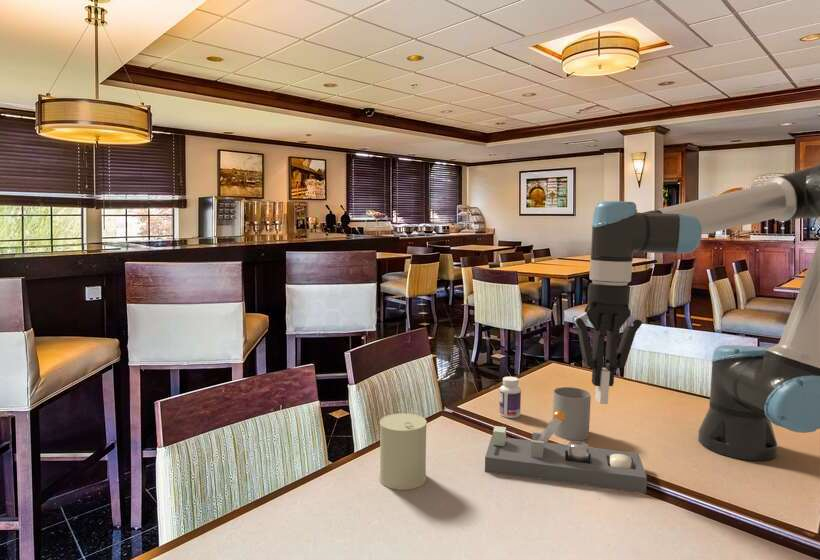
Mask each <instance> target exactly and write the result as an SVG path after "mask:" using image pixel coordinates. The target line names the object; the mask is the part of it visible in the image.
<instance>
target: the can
mask: <svg viewBox="0 0 820 560" xmlns="http://www.w3.org/2000/svg"><path fill="white" fill-rule="evenodd" d="M427 424H428V422H427V419H426V418H424V416H421V415H418V414H415V413H409V412H408V413H406V412H405V413H404V412H401V413H391V414H388V415H385V416H383V417H382V418H381V419H380V420H379V436H380V437H379V439H380V440H379V444H380V445H379V447H380V448H379V449H380V450H379V451H380V452H379V453H380V454H379V460H380V461H379V476H378V479H379V482H380V484H381V485H383V486H384V487H386V488H388V489H392V490H399V491H409V490H414V489H417V488H419V487H422V486H423V485H424V484H426V481H427V474H426V472H427V471H426V469H427V468H426V467H427V466H426V465H427V464H426V461H427V460H426V458H427V446H426V445H427Z"/></svg>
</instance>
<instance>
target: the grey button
mask: <svg viewBox="0 0 820 560" xmlns="http://www.w3.org/2000/svg"><path fill="white" fill-rule="evenodd" d="M567 445H568V461H572V462H580V463H588V461H589V447H590V445H589V444H588V443H586V442H583V441H581V440H570V441H569V442H568V444H567Z"/></svg>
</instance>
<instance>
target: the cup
mask: <svg viewBox="0 0 820 560" xmlns="http://www.w3.org/2000/svg"><path fill="white" fill-rule="evenodd" d="M591 398H592V395H591V393H590V392H589V391H588V390H587V389H586V390H585V389H583V388H578V387H570V386H569V387H568V386H567V387H566V386H565V387H556V388H555V389H554V390H553V400H552V402H553V405H552V415H553V414H554V413H555V412H556V411H562V412H563V413H564V414H565V420H564V422H562V423H560V424H559V426H558V427H557V429H556V430H555V432H554V433H553V434H552V435H554V436H555V437H558V438H560V439H563V440H569V441H583V440H586V439H588V438H589V436H590V423H591V422H590V420H591V401H592V400H591Z"/></svg>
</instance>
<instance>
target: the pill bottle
mask: <svg viewBox="0 0 820 560" xmlns="http://www.w3.org/2000/svg"><path fill="white" fill-rule="evenodd" d="M499 387H500V388H499V411H498V412H499V416H501V417H503V418H506V419H507V418H508V419H515V418H516V419H517V418H519V417H520V416H521V397H522V396H521V395H522V390H521V387H520V386H519V378H518V377H515V376H504V377H502V385H501V386H499Z"/></svg>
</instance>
